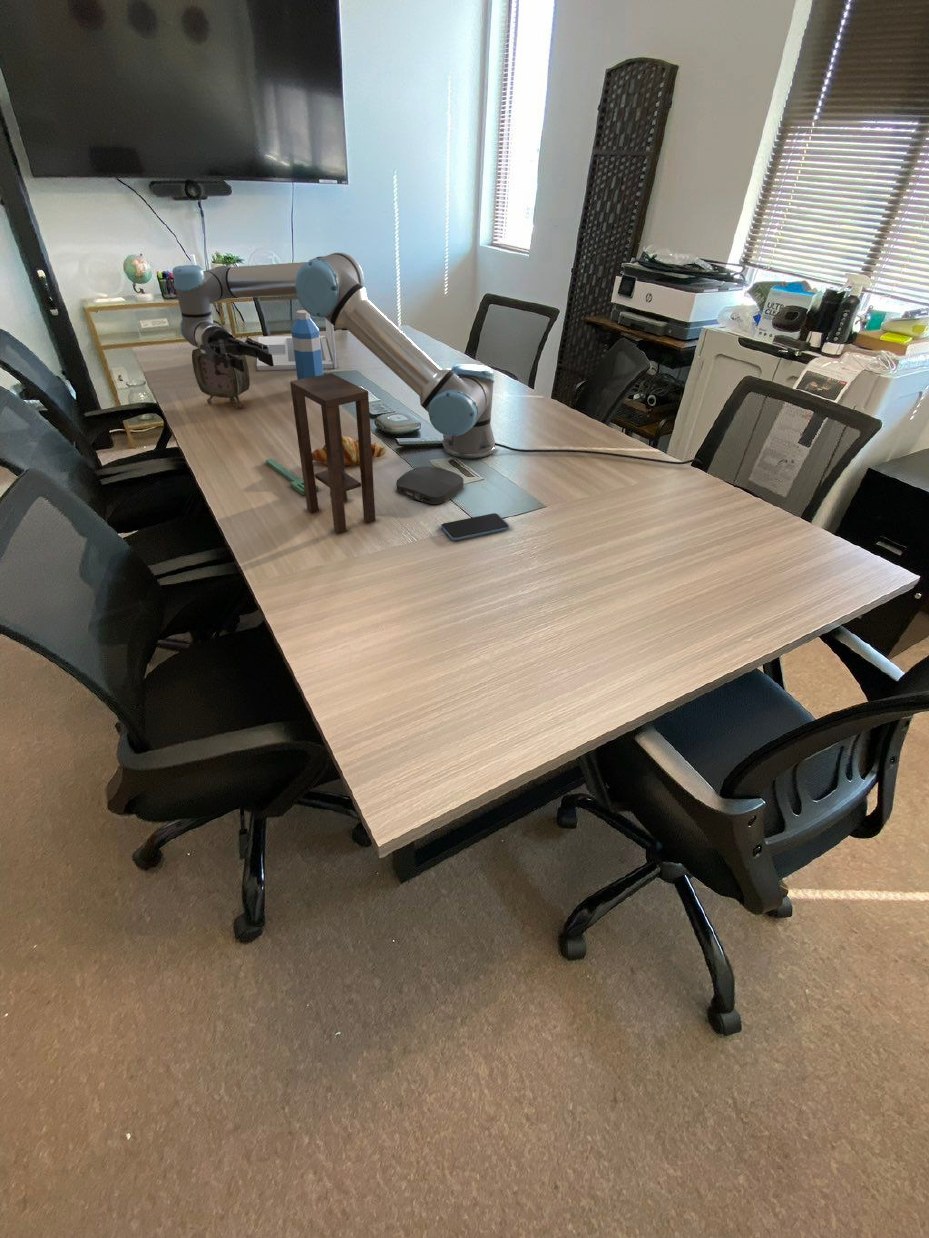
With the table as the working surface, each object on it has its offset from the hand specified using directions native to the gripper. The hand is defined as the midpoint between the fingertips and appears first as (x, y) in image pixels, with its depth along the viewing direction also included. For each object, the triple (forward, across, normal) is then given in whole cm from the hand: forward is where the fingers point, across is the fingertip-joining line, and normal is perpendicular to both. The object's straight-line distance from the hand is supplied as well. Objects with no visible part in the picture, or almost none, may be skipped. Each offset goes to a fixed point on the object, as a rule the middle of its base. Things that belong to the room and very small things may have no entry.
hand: (256, 363), depth 144 cm
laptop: (-88, -56, -26) cm, 107 cm away
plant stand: (+33, 0, -27) cm, 42 cm away
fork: (+8, 0, -27) cm, 28 cm away
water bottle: (-47, -39, -27) cm, 66 cm away
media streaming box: (+35, -25, -27) cm, 51 cm away
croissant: (+9, -18, -27) cm, 33 cm away
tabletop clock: (-51, -11, -27) cm, 58 cm away
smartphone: (+57, -21, -27) cm, 66 cm away
